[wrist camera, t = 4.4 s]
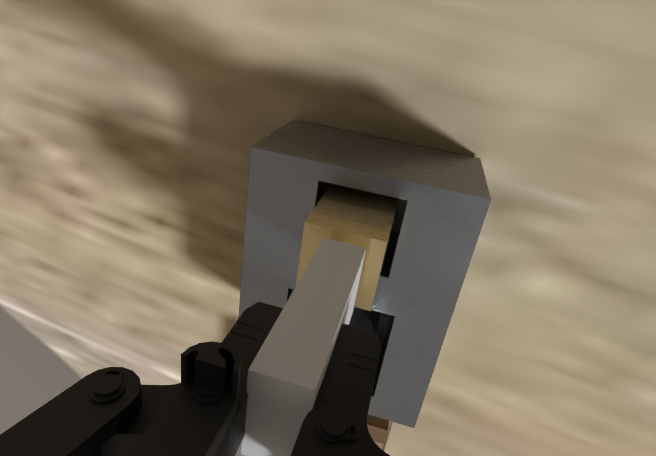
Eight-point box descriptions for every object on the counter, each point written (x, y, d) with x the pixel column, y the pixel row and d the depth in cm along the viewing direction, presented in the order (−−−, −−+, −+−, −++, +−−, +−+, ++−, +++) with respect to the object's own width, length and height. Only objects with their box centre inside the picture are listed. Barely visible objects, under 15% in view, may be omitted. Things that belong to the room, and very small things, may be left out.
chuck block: (293, 119, 24) (250, 147, 19) (480, 158, 23) (490, 199, 17) (271, 312, 30) (234, 374, 25) (419, 352, 28) (414, 427, 23)
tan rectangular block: (343, 166, 22) (304, 222, 16) (403, 179, 22) (386, 242, 15) (334, 220, 23) (295, 291, 17) (390, 233, 23) (370, 310, 17)
